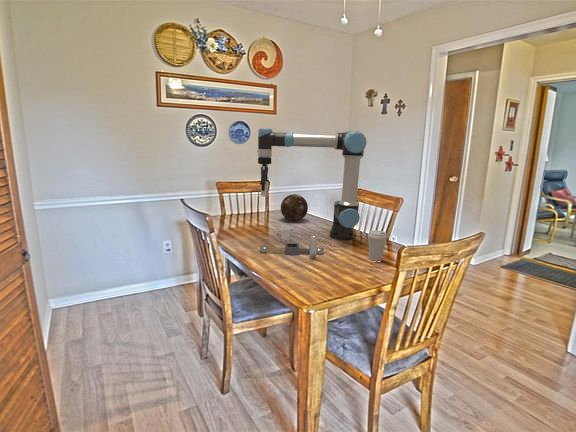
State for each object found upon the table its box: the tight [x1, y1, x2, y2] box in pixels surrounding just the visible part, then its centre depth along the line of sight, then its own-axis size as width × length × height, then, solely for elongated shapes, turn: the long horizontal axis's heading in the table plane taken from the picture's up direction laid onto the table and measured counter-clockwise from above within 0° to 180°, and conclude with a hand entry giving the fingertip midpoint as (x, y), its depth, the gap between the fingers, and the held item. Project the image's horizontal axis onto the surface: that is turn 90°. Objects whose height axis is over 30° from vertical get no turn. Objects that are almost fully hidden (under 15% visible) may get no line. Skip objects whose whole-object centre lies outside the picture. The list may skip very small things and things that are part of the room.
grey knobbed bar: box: [259, 242, 325, 256], centre depth 179 cm, size 34×7×4 cm, turn 91°
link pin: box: [308, 234, 318, 260], centre depth 170 cm, size 4×4×12 cm
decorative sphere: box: [280, 193, 309, 222], centre depth 246 cm, size 20×20×20 cm
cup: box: [274, 226, 293, 243], centre depth 198 cm, size 7×10×8 cm
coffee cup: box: [367, 229, 388, 262], centre depth 170 cm, size 10×10×15 cm
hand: (264, 194), depth 192 cm, fingers open, 13 cm apart
